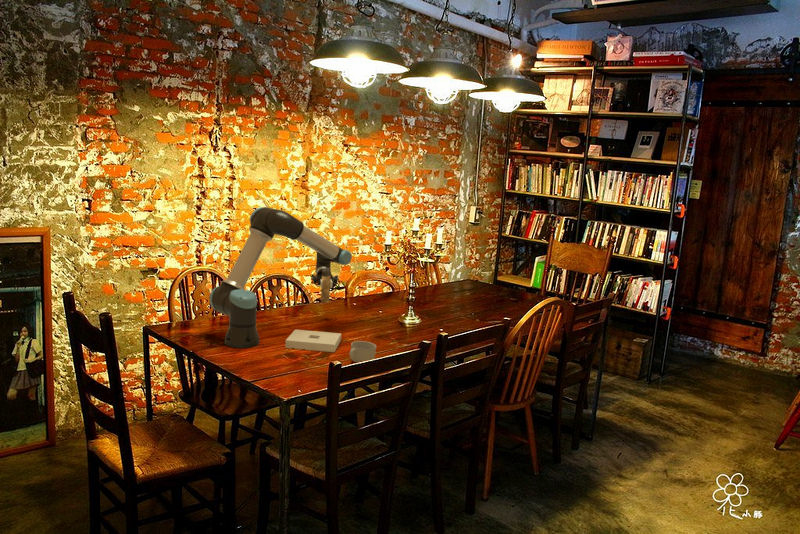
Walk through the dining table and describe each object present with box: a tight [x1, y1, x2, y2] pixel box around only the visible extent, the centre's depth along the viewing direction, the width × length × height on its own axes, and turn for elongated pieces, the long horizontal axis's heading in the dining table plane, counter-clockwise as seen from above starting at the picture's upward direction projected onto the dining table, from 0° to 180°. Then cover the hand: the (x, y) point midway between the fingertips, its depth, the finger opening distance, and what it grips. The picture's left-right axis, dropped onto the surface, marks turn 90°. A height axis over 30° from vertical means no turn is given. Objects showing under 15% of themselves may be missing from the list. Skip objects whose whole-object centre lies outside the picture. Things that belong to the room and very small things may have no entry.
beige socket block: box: [284, 329, 342, 353], centre depth 287 cm, size 22×18×4 cm
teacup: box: [349, 340, 377, 363], centre depth 265 cm, size 14×11×8 cm
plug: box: [320, 268, 332, 304], centre depth 299 cm, size 4×4×16 cm
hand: (326, 284), depth 294 cm, fingers closed on plug, 4 cm apart
